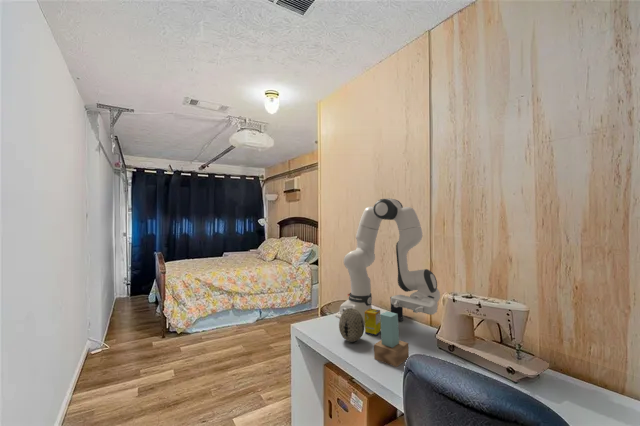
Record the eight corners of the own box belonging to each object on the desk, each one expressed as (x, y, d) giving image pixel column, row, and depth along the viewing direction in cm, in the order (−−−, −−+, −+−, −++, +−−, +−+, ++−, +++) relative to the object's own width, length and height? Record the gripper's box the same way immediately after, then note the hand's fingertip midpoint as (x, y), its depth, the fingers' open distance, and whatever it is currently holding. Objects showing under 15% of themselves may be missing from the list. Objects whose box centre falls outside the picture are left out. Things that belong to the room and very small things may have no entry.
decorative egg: (368, 338, 137) (367, 306, 137) (358, 348, 127) (357, 314, 127) (346, 333, 143) (345, 303, 143) (334, 342, 133) (334, 310, 133)
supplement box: (370, 329, 148) (369, 308, 148) (381, 332, 144) (380, 309, 144) (364, 333, 143) (364, 311, 143) (376, 336, 139) (375, 313, 139)
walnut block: (374, 359, 118) (373, 344, 118) (386, 350, 125) (386, 336, 125) (396, 367, 111) (396, 351, 111) (408, 357, 118) (408, 343, 118)
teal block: (381, 344, 118) (380, 314, 118) (388, 340, 121) (387, 311, 122) (392, 347, 114) (391, 317, 115) (399, 343, 118) (397, 313, 118)
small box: (403, 321, 157) (402, 302, 157) (391, 321, 159) (390, 301, 159) (401, 315, 168) (401, 296, 168) (390, 314, 169) (389, 296, 169)
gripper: (399, 290, 144) (384, 295, 135) (440, 299, 130) (426, 306, 120) (399, 302, 144) (384, 309, 135) (440, 313, 130) (426, 321, 120)
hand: (404, 308), depth 127 cm, fingers open, 8 cm apart
